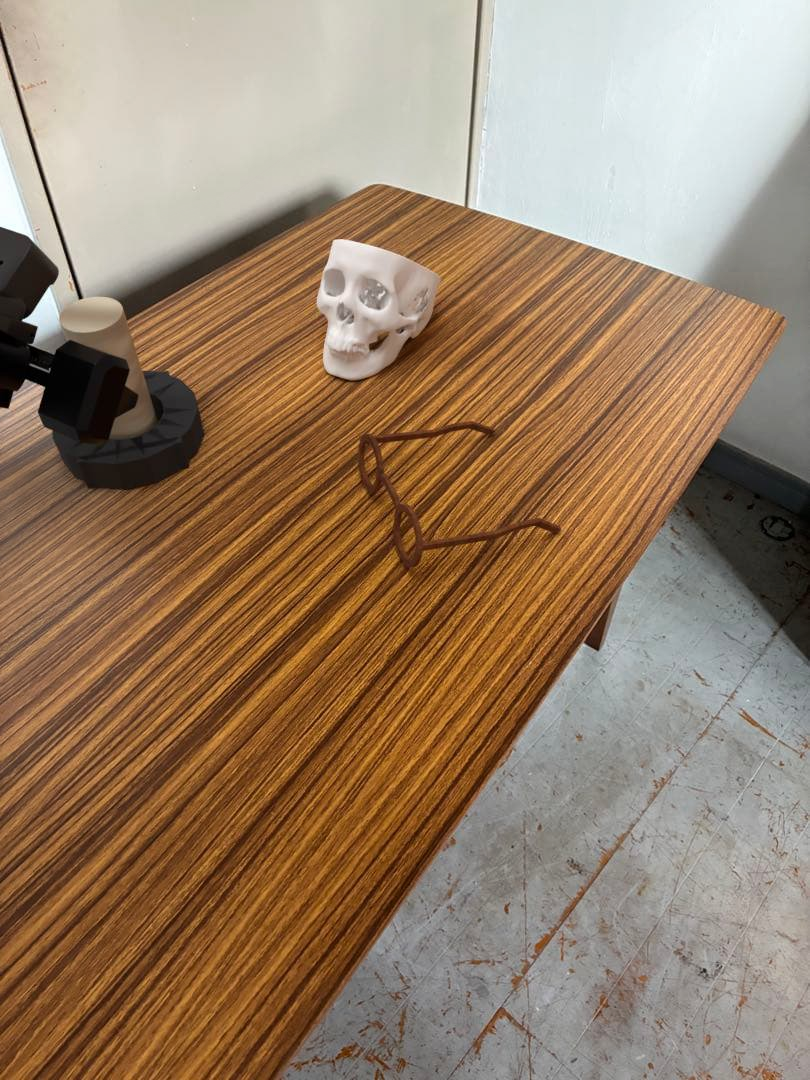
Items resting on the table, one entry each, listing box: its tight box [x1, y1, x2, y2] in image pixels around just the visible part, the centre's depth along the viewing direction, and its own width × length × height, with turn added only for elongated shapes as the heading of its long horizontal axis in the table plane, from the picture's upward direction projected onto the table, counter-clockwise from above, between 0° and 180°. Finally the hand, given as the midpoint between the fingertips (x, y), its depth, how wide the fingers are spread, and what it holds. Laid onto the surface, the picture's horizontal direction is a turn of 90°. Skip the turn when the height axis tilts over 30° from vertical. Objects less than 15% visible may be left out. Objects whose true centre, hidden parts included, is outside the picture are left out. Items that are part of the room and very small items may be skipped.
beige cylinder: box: [58, 296, 159, 440], centre depth 68 cm, size 5×5×13 cm
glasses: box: [357, 420, 562, 569], centre depth 66 cm, size 13×13×5 cm
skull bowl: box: [316, 238, 442, 381], centre depth 80 cm, size 10×14×12 cm
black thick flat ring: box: [51, 370, 205, 490], centre depth 71 cm, size 12×12×3 cm
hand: (91, 383), depth 65 cm, fingers open, 9 cm apart
